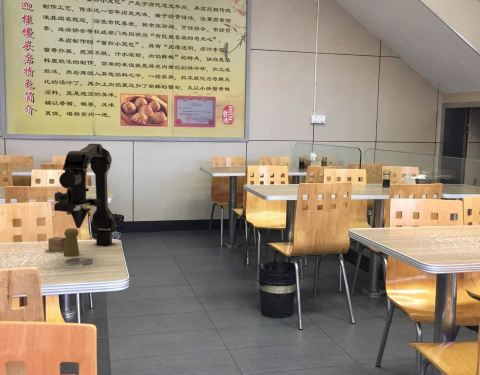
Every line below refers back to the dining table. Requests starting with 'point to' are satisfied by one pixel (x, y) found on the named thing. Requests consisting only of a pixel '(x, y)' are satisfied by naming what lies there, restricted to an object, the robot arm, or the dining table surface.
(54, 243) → the walnut cube
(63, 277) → the dining table surface
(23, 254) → the dining table surface
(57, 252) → the coaster
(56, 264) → the dining table surface
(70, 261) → the coaster empty
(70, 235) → the brown rounded piece
